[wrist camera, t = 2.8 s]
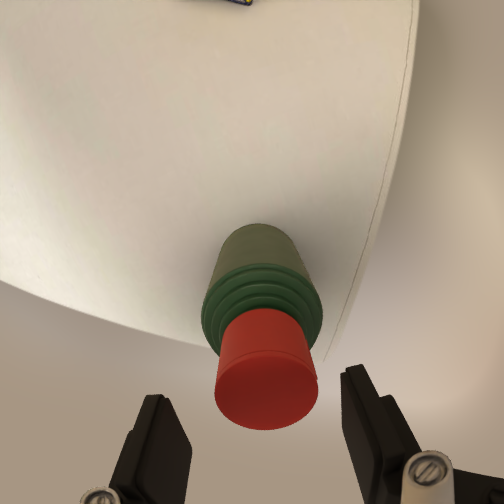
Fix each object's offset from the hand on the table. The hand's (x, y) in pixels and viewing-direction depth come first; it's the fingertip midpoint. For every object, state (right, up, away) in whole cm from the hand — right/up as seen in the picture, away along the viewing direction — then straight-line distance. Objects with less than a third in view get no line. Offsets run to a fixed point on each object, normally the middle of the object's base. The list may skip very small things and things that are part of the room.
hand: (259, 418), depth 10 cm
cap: (0, +1, +5) cm, 5 cm away
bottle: (0, +5, +16) cm, 17 cm away
